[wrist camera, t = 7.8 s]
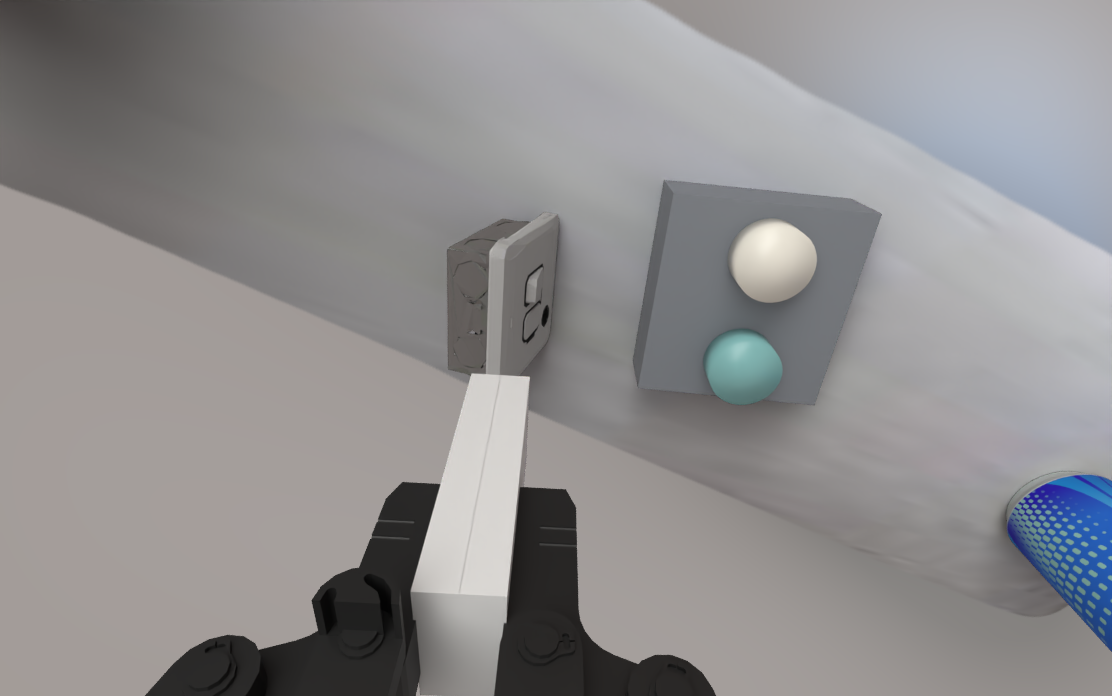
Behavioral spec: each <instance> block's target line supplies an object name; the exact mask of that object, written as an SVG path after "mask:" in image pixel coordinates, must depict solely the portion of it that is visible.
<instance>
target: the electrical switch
mask: <svg viewBox="0 0 1112 696" xmlns="http://www.w3.org/2000/svg"><path fill="white" fill-rule="evenodd" d="M558 231H559V217H558V215H557V214H553V213H548V212H544V213H542V214H541V215H540V216H539V217H538V218H536V219H535V220H533V221H532V222H528V221H521V222H518V221H513V220H507V219H501V220H499V221H497V222H496V223H494V224H492V225H490V226H488V227H486V228H484V229H482V230H481V231H479V232H477V233H475V234H473V235H471V236H469V237H468V238H466V239H464V240H462V241H460V242H458V243H456V244H454V245H453V246H451V247H449V248H451V249H447V297H448V370H453V371H457V372H461V373H465V374H468V375H470V376H471V374H472V373H473V374H490V375H508V376H520V375H521V373H522V372H523V371H524V370H525V368H526V367H527V366H528V365H529V364H530V362H531V361H532V360H533V359H534V358H535V356H536V355H537V354H538V353H539V351H540V350H541V349H542V348H543V347H544V345H545V344H546V343H547V341H548V338H549V335H550V328H551V316H552V304H553V292H554V280H555V267H556V255H557V243H558ZM452 249H456V250H452ZM457 250H460V251H457ZM463 251H464V252H463ZM482 267H483V268H484V269H483V268H482ZM454 275H455V276H454ZM453 277H454V278H453ZM465 295H467V296H469V297H465ZM482 295H483V296H482ZM472 302H475V303H472ZM482 308H483V309H482ZM472 330H473V331H475V334H470V333H468V332H470V331H472ZM458 338H459V339H458ZM454 353H455V355H454Z"/></svg>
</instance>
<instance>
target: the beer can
mask: <svg viewBox="0 0 1112 696" xmlns="http://www.w3.org/2000/svg"><path fill="white" fill-rule="evenodd" d="M1006 517H1007V533H1008V536H1009V538H1010V540H1011V541H1012V542H1013V544H1014V545H1015V546H1016V547H1017V548H1018V549H1019V550H1020V551H1021V552H1022V554H1023V555H1024V556H1025V557H1026V558H1027V559H1028V560H1029V561H1030V562H1031V563H1032V565H1033V566H1034V567H1035V568H1036V569H1037V570H1038V571H1039V572H1040V573H1041V574H1042V576H1043V577H1044V578H1045V579H1046V580H1047V581H1048V582H1049V583H1050V584H1051V586H1052V587H1053V588H1054V589H1055V590H1056V591H1057V592H1058V593H1059V594H1060V595H1061V597H1062V598H1063V599H1064V600H1065V601H1066V602H1067V603H1068V604H1069V605H1070V606H1071V608H1072V609H1073V610H1074V611H1075V612H1076V613H1077V614H1078V615H1079V616H1080V617H1081V619H1082V620H1083V621H1084V622H1085V623H1086V624H1087V625H1088V626H1089V627H1090V628H1091V630H1092V631H1093V632H1094V633H1095V634H1096V635H1097V636H1098V637H1099V638H1100V640H1101V641H1102V642H1103V643H1104V644H1105V645H1106V646H1107V647H1108V648H1109V649H1110V651H1112V481H1111V480H1109V479H1107V478H1104V477H1102V476H1098V475H1092V474H1083V473H1079V472H1072V471H1063V472H1055V473H1051V474H1047V475H1044V476H1041V477H1039V478H1037V479H1035V480H1033V481H1031V482H1029V483H1028V484H1026V485H1025V486H1023V487H1022V488H1021V489H1020V490H1019V491H1018V492H1017V493H1016V494H1015V495H1014V496H1013V497H1012V499H1011V501H1010V502H1009V504H1008V507H1007V512H1006Z"/></svg>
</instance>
